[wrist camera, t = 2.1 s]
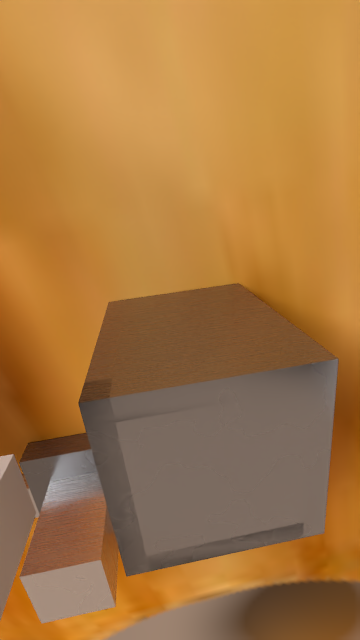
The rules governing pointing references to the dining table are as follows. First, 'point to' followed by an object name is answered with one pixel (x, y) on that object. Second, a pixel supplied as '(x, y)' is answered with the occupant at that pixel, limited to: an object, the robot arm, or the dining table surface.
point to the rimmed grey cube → (208, 426)
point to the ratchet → (68, 531)
